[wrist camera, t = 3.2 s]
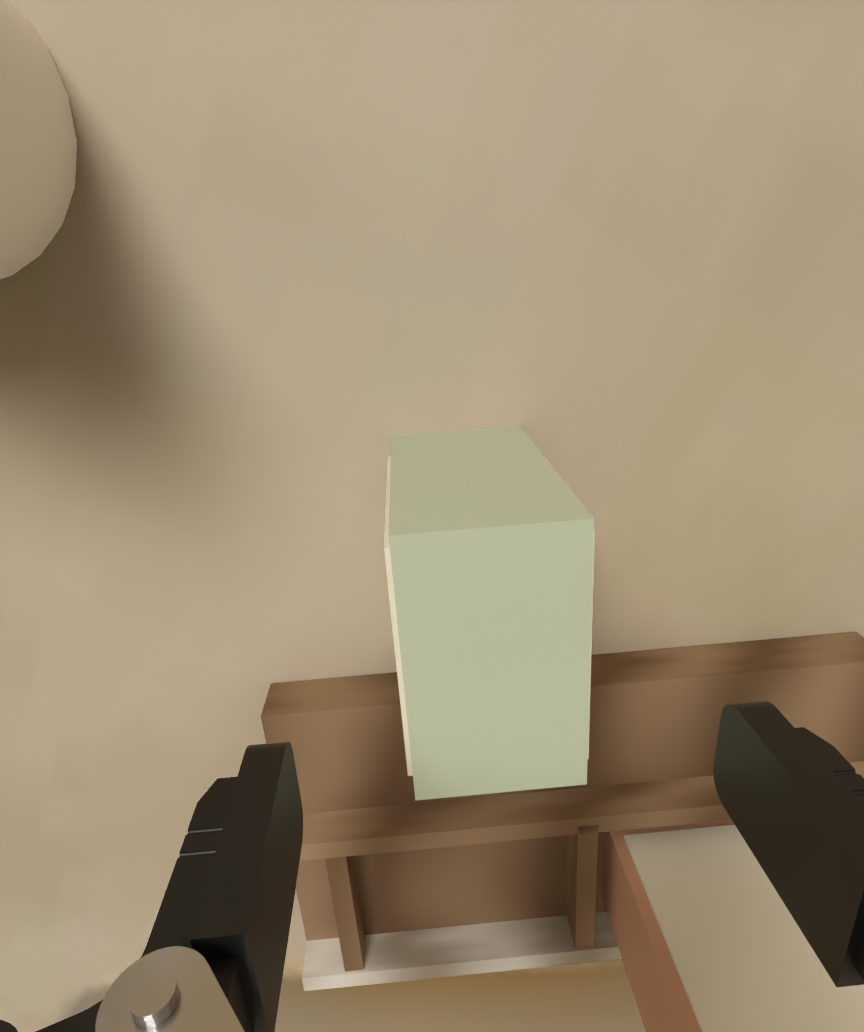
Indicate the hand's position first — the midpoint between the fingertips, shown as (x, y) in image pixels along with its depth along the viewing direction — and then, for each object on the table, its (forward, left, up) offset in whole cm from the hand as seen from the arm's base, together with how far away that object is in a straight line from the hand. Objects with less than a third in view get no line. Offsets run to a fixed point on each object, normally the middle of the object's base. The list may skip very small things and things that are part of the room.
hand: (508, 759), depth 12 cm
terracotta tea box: (-9, +15, -10) cm, 21 cm away
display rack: (-4, +13, -12) cm, 18 cm away
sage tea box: (0, +1, -12) cm, 12 cm away
